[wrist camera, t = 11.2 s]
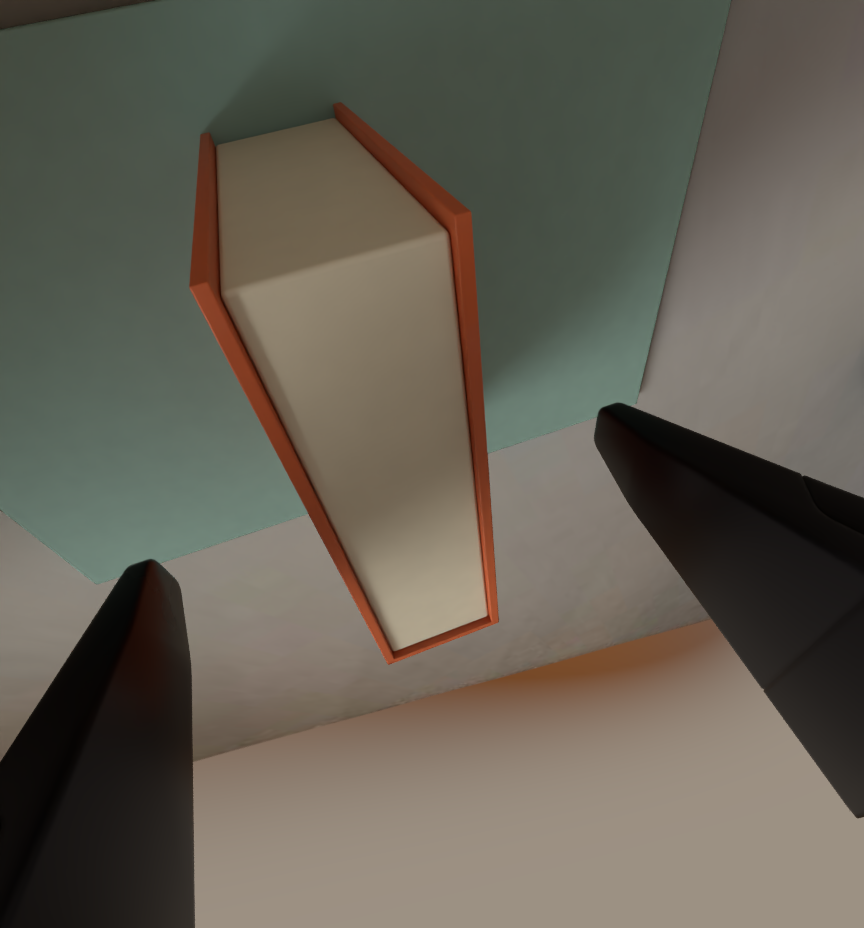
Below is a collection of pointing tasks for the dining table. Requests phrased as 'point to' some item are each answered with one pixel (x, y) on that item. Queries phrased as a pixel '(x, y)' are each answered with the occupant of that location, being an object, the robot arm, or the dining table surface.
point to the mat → (290, 105)
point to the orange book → (359, 361)
